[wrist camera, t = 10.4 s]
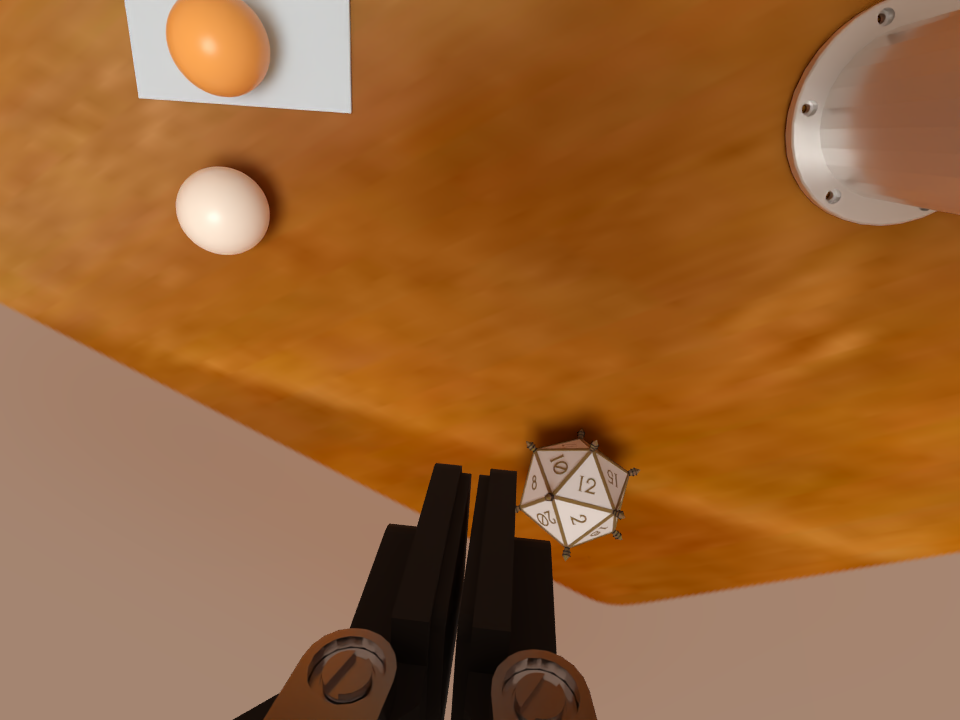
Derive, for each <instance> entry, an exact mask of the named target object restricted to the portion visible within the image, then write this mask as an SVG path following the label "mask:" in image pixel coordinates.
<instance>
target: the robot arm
mask: <svg viewBox="0 0 960 720" xmlns="http://www.w3.org/2000/svg"><path fill="white" fill-rule="evenodd" d="M878 15H880V17H881V21H880V23H878ZM804 104H805V105H806V106H807V110H806V112H805V113H802V107H803V105H804ZM785 137H786V150H787V157H788V161H789V164H790V168H791V171H792V174H793V176H794V178H795V180H796V182H797V183H798V185H799V187H800V189H801V190H802V191H803V193H804V194H805V195H806V196H807V197H808V198H809V199H810V200H811V201H812V203H813V204H815V205H816V206H818V207H819V208H821V209H822V210H824V211H825V212H826V213H828V214H830V215H833V216H835V217H838V218H840V219H843V220H846V221H850V222H854V223H858V224H864V225H877V226H883V225H893V224H902V223H905V222H909V221H913V220H916V219H920V218H923V217H925V216H928V215H930V214H932V213H934V212H936V211H942V212H947V213H952V214H957V215H960V0H884V1H882V2H879V3H877V4H876V5H874V6H872V7H870V8H868V9H867V10H865V11H863V12H861V13H859V14H857V15H856V16H855V17H853V18H852V19H851V20H850V21H848V22H847V23H846V24H844V25H843V26H842V27H841V28H839V29H838V30H837V31H836V32H835V33H834V34H833V35H832V36H831V37H830V38H829V39H828V40H827V41H826V42H825V44H824V45H823V46H822V47H821V48H820V49H819V50H818V52H817V53H816V54H815V56H814V57H813V59H812V60H811V62H810V63H809V65H808V66H807V67H806V69H805V71H804V73H803V75H802V77H801V79H800V81H799V83H798V85H797V87H796V89H795V91H794V94H793V98H792V101H791V105H790V108H789V111H788V116H787V125H786V134H785ZM828 192H830V196H829V198H827V199H826V195H827V193H828ZM516 482H517V471H508V470H498V469H491V470H490V476H487V475H479V482H478V489H477V496H476V502H475V509H474V516H473V523H472V530H471V536H470V543H469V550H468V557H467V564H466V570H465V558H466V543H467V531H468V517H469V503H470V489H471V474H468V473H462V466H459V465H450V464H440V463H436V464H435V466H434V469H433V473H432V476H431V480H430V483H429V487H428V490H427V494H426V497H425V501H424V504H423V508H422V511H421V515H420V518H419V522H418V525H417V527H416V526H406V525H397V524H389V525H388V526H387V528H386V530H385V533H384V536H383V538H382V541H381V544H380V547H379V549H378V552H377V555H376V558H375V561H374V563H373V566H372V569H371V571H370V574H369V577H368V580H367V582H366V585H365V588H364V591H363V593H362V596H361V599H360V602H359V604H358V607H357V610H356V613H355V615H354V618H353V621H352V624H351V627H350V629H343V630H338V631H335V632H333V633H330V634H328V635H325V636H324V637H322V638H321V639H319V640H318V641H317V642H315V643H314V644H313V645H312V646H311V647H310V648H309V649H308V650H307V651H306V653H305V654H304V655H303V656H302V658H301V659H300V661H299V663H298V664H297V666H296V668H295V669H294V671H293V672H292V674H291V676H290V677H289V679H288V680H287V682H286V684H285V685H284V687H283V689H282V690H281V692H280V693H279V694H277V695H275V696H273V697H272V698H270V699H268V700H266V701H265V702H263V703H261V704H259V705H258V706H256V707H254V708H253V709H251V710H249V711H247V712H246V713H244V714H242V715H240V716H239V717H237V718H235V719H233V720H444V715H445V708H446V702H447V695H448V688H449V681H450V674H451V667H452V661H453V654H454V647H455V640H456V634H457V640H456V655H455V669H454V683H453V698H452V713H451V720H597V717H596V713H595V709H594V706H593V702H592V698H591V695H590V691H589V689H588V686H587V684H586V682H585V679H584V677H583V676H582V675H581V674H580V672H579V671H578V670H577V669H576V668H575V666H574V665H572V664H571V663H570V662H568V661H567V660H565V659H564V658H563V657H561V656H559V655H557V654H556V635H555V616H554V597H553V577H552V557H551V543H550V541H545V540H535V539H526V538H517V537H514V535H515V509H516ZM464 572H465V577H464ZM457 627H458V629H457Z"/></svg>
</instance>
